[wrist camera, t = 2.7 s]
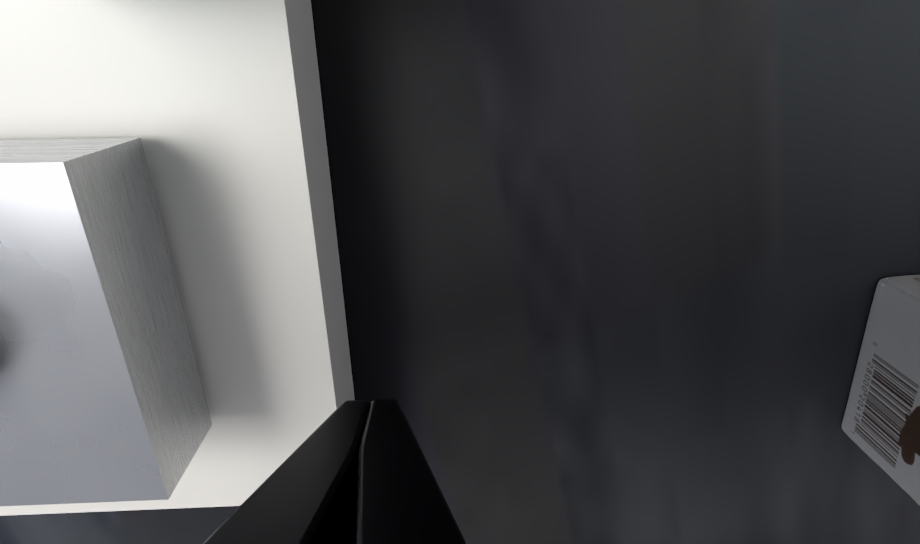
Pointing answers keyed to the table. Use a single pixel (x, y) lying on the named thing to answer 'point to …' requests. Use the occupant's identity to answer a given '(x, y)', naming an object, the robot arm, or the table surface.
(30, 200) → the shutter
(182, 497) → the socket plate
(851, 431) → the coffee box
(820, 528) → the table surface
